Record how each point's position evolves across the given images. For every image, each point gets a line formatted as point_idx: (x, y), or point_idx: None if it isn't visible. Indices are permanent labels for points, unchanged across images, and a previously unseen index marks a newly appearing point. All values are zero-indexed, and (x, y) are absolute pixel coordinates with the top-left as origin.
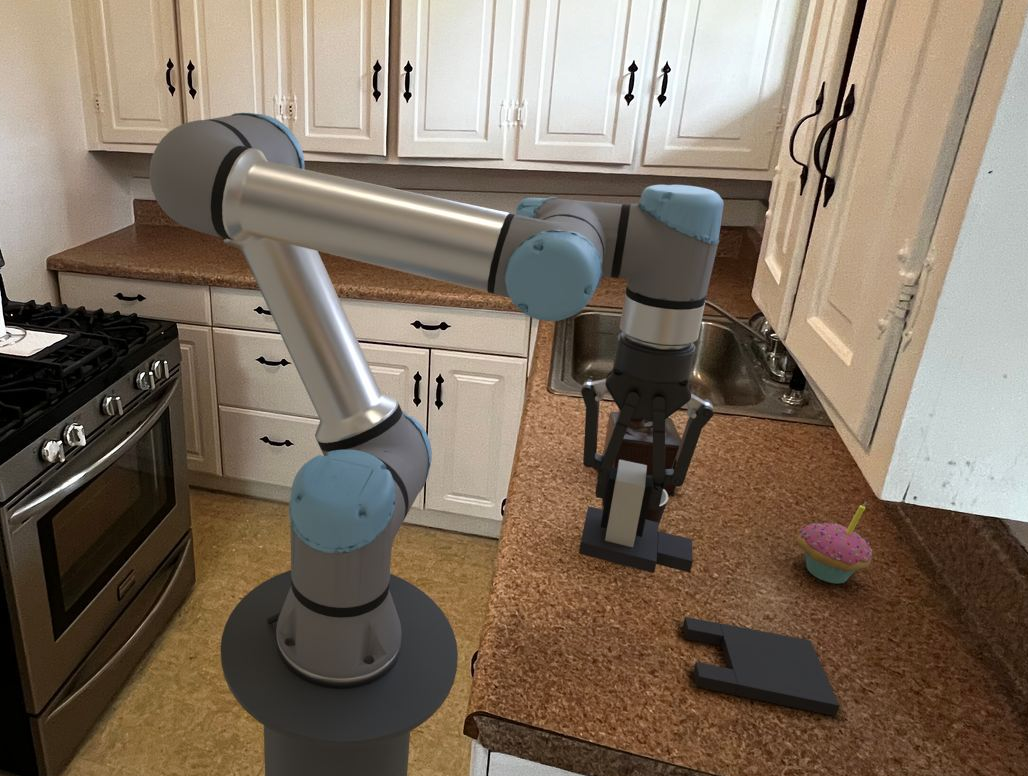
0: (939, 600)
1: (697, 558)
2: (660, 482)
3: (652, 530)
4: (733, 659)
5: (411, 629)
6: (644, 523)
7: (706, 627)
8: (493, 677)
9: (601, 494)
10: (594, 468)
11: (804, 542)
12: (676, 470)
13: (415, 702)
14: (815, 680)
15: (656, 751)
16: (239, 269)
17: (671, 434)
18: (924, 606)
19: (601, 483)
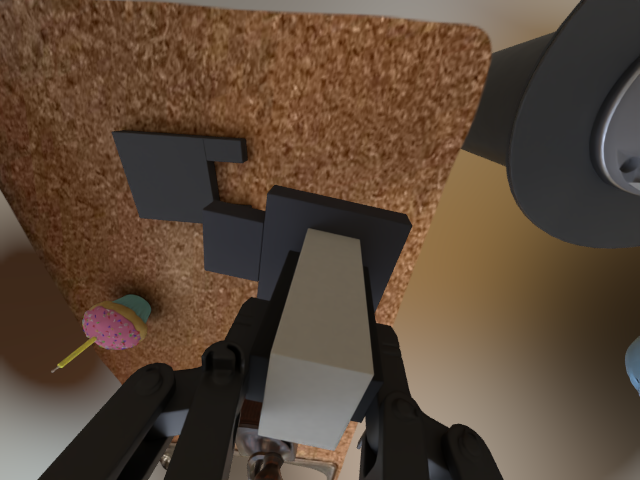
0: (60, 288)
1: (234, 307)
2: (214, 376)
3: (268, 281)
4: (206, 175)
5: (568, 152)
6: (282, 269)
7: None
8: (475, 94)
9: (381, 333)
10: (430, 419)
11: (137, 326)
12: (123, 442)
13: (614, 2)
14: (133, 163)
15: (296, 16)
16: None
17: (240, 438)
18: (69, 280)
19: (392, 364)
